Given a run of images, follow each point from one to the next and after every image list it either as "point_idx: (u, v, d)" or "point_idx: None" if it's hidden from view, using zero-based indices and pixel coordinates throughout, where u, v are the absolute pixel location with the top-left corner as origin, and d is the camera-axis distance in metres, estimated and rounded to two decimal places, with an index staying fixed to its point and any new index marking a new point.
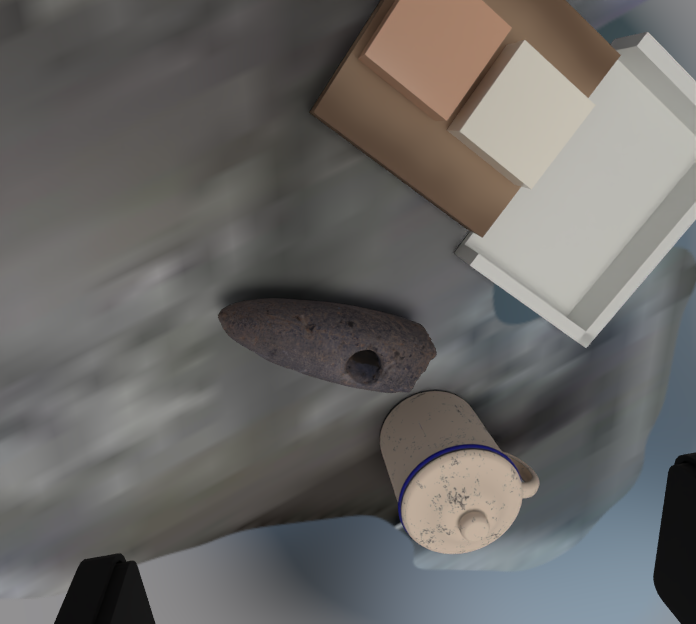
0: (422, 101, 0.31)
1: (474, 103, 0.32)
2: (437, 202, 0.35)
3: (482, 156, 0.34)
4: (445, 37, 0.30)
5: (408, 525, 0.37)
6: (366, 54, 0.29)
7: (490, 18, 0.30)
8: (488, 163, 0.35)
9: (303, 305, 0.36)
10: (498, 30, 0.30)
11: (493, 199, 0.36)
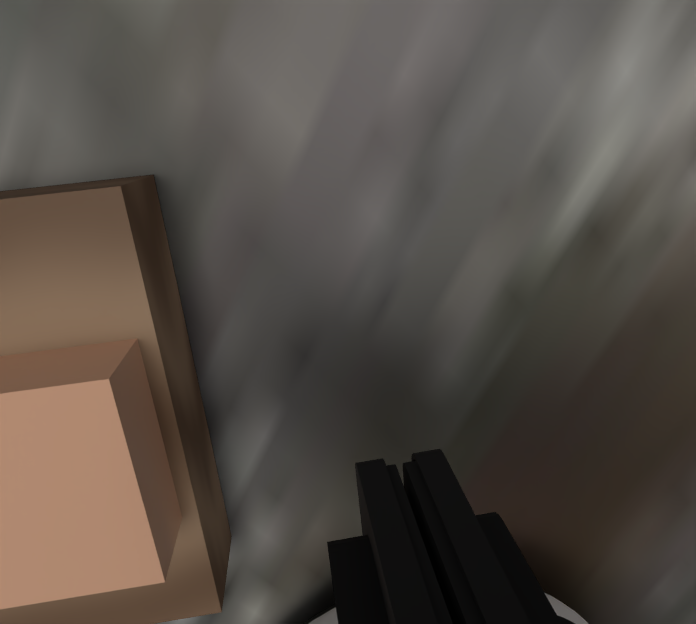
0: None
1: None
2: None
3: None
4: (9, 520, 0.13)
5: None
6: (105, 381, 0.12)
7: None
8: None
9: None
10: None
11: None
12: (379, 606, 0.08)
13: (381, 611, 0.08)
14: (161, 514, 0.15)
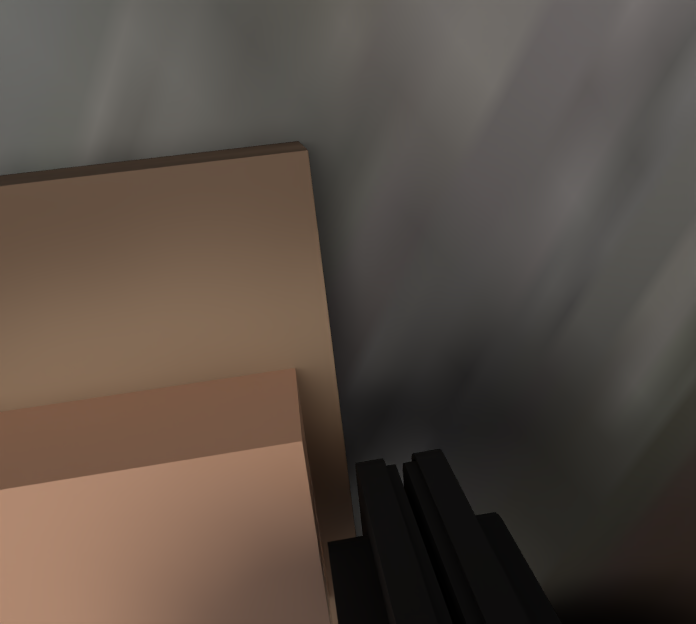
0: (15, 483, 0.08)
1: None
2: None
3: None
4: None
5: None
6: (296, 445, 0.08)
7: None
8: None
9: None
10: None
11: None
12: (379, 606, 0.08)
13: (381, 611, 0.08)
14: (329, 611, 0.10)
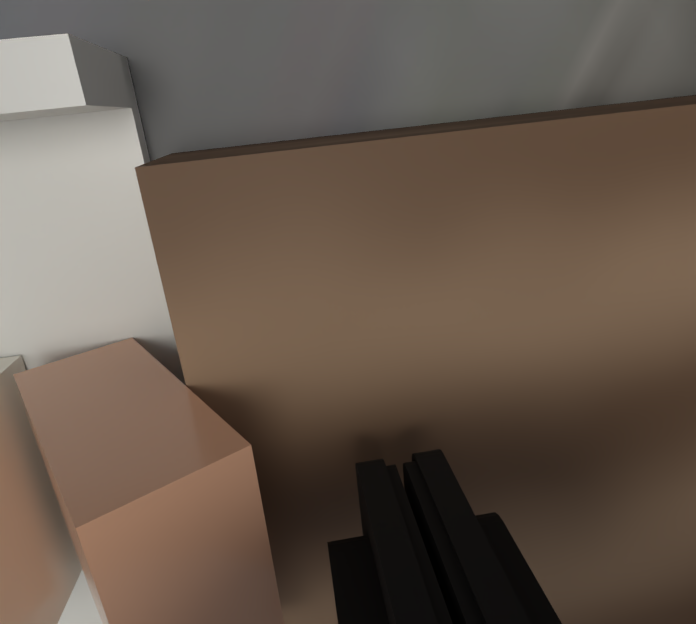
0: (33, 404, 0.10)
1: None
2: (384, 145, 0.09)
3: None
4: (86, 574, 0.10)
5: None
6: (76, 528, 0.07)
7: (97, 608, 0.12)
8: None
9: None
10: (87, 582, 0.13)
11: (227, 297, 0.10)
12: (379, 606, 0.08)
13: (381, 611, 0.08)
14: None
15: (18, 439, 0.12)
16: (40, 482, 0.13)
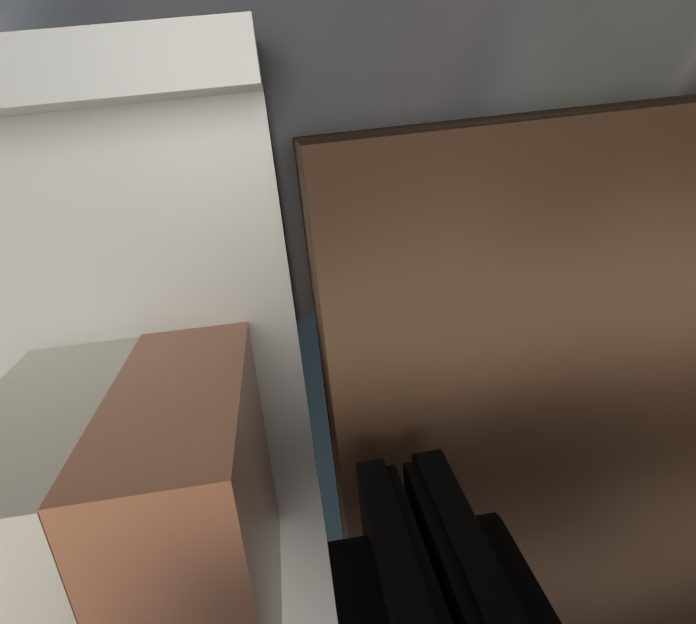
0: (127, 368, 0.11)
1: None
2: (540, 125, 0.09)
3: (60, 412, 0.09)
4: None
5: None
6: (42, 509, 0.07)
7: None
8: (107, 385, 0.10)
9: None
10: None
11: (376, 275, 0.10)
12: (379, 606, 0.08)
13: (381, 611, 0.08)
14: None
15: None
16: None
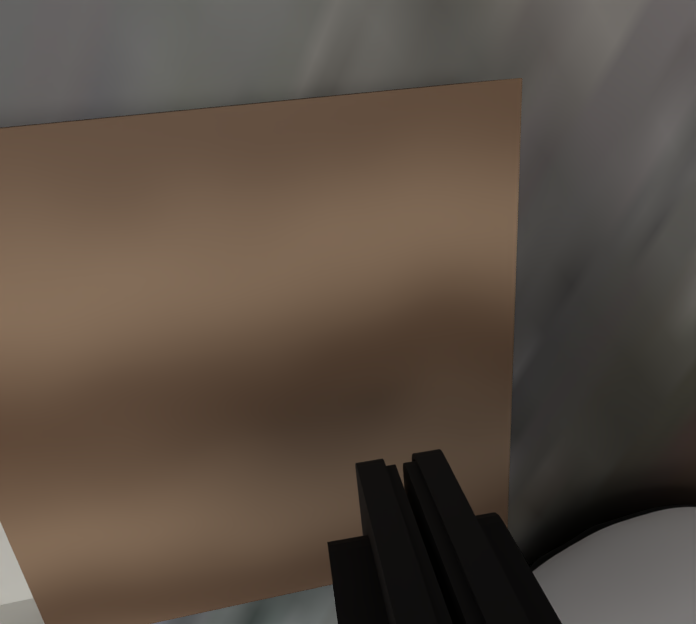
0: None
1: None
2: (65, 127, 0.11)
3: None
4: None
5: None
6: None
7: None
8: None
9: None
10: None
11: None
12: (379, 606, 0.08)
13: (381, 611, 0.08)
14: None
15: None
16: None
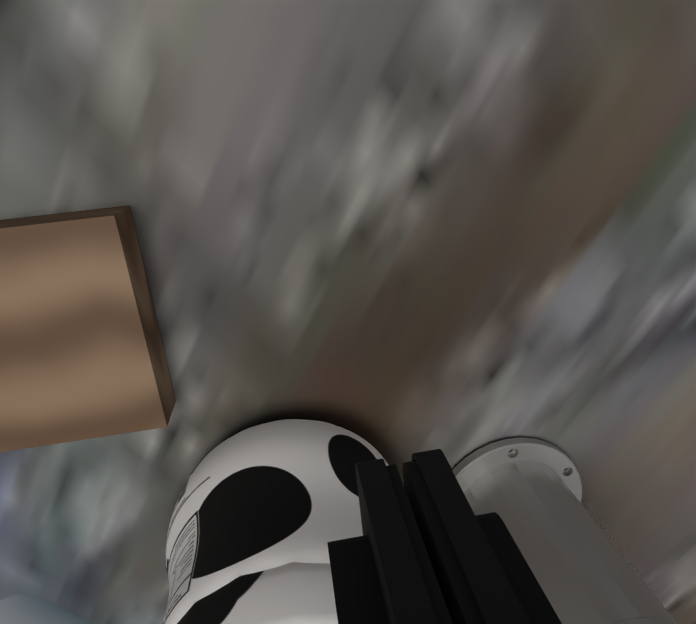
0: None
1: None
2: None
3: None
4: None
5: None
6: None
7: None
8: None
9: None
10: None
11: None
12: (379, 606, 0.08)
13: (381, 611, 0.08)
14: None
15: None
16: None
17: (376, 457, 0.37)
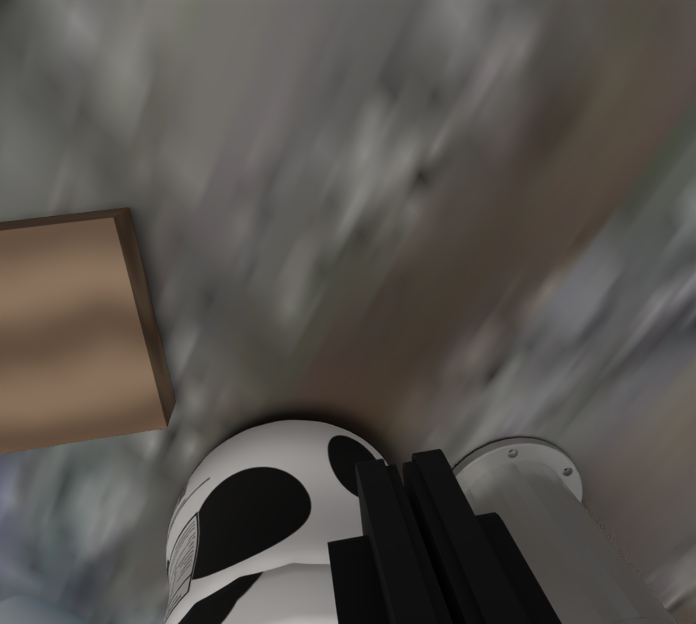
0: None
1: None
2: None
3: None
4: None
5: None
6: None
7: None
8: None
9: None
10: None
11: None
12: (379, 606, 0.08)
13: (381, 611, 0.08)
14: None
15: None
16: None
17: (376, 458, 0.37)
